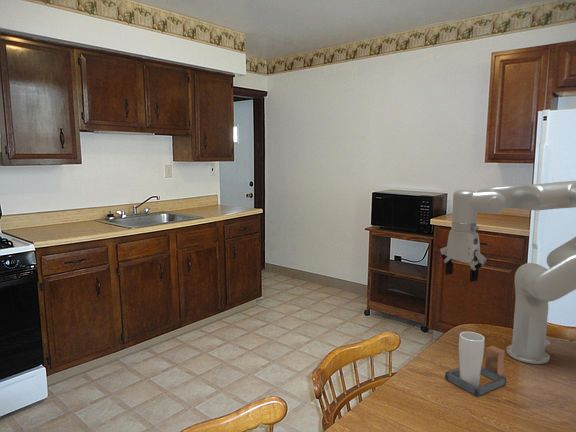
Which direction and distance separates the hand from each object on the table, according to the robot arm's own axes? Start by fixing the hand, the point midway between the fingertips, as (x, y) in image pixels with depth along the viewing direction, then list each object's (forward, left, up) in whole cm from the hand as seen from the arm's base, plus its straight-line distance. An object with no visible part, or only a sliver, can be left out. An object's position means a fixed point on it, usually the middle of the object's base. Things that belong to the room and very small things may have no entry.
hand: (460, 277), depth 139 cm
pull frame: (+10, +16, -26) cm, 32 cm away
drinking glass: (+15, +16, -26) cm, 34 cm away
